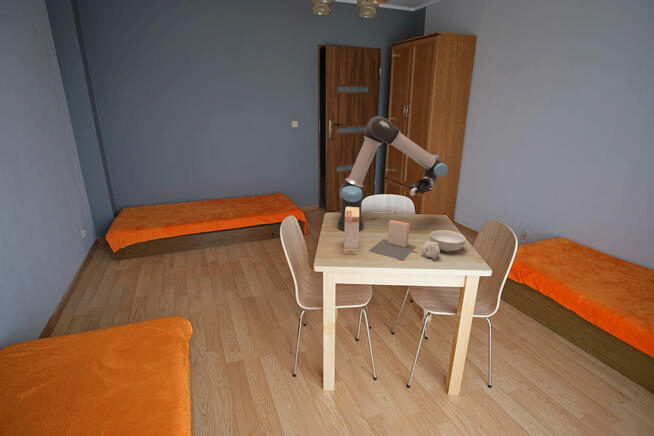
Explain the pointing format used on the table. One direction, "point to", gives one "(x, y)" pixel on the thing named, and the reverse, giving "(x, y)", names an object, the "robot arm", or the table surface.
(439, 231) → the cereal bowl
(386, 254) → the mat
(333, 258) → the table surface
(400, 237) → the salmon orange block
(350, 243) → the coffeecake box
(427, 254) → the die
